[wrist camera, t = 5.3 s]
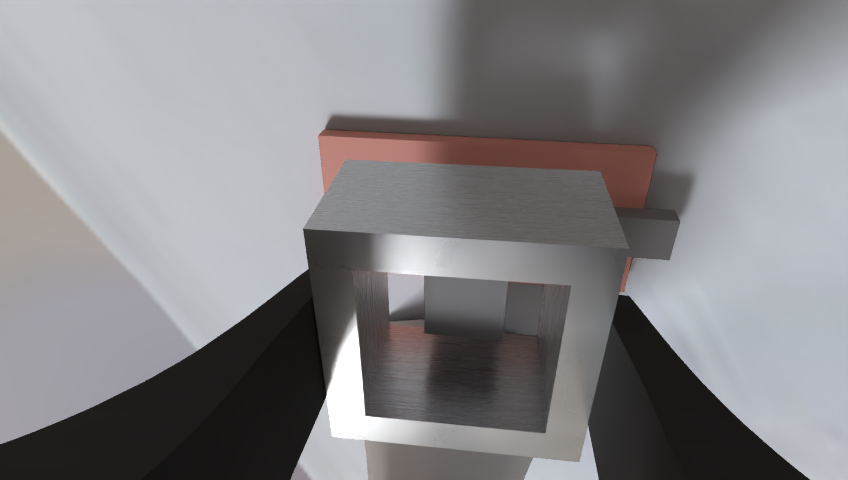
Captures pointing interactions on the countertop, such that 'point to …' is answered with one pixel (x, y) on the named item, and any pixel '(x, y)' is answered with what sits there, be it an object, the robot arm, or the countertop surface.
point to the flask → (439, 458)
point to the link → (476, 259)
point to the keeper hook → (619, 165)
